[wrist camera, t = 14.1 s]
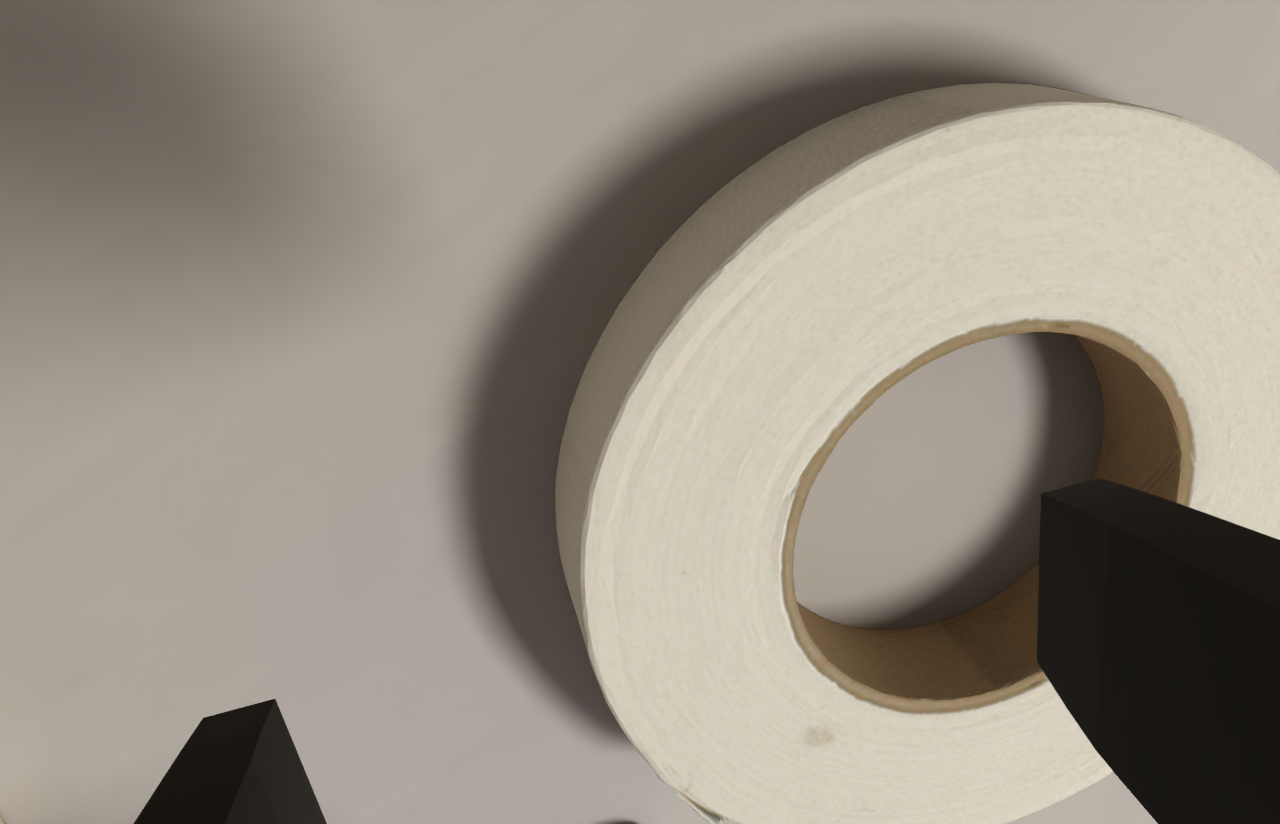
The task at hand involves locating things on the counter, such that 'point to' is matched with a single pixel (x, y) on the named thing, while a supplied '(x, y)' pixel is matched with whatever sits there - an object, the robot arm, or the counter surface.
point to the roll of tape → (848, 385)
